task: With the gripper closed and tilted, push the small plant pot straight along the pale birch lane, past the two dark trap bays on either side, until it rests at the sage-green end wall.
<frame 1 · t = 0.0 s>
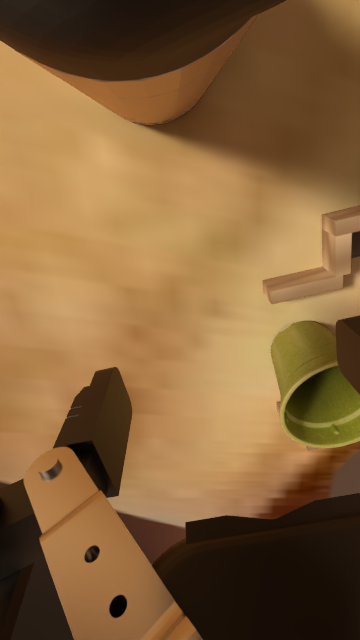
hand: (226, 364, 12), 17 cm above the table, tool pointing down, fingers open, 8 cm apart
plant pot: (299, 345, 32), on the table
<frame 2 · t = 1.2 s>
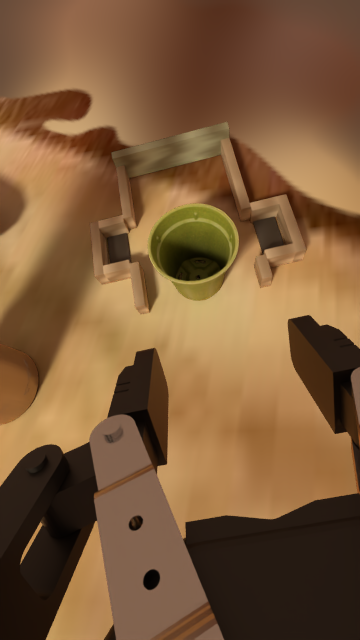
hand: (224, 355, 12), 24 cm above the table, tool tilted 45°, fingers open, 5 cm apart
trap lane: (188, 227, 43), on the table
plant pot: (199, 279, 40), on the table
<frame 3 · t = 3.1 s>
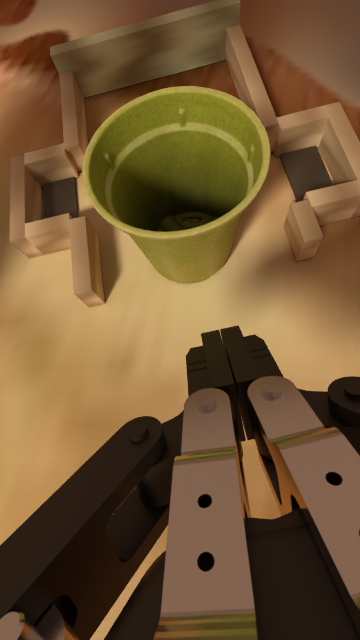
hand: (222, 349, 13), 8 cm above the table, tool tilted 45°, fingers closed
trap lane: (172, 166, 26), on the table
plant pot: (191, 249, 24), on the table
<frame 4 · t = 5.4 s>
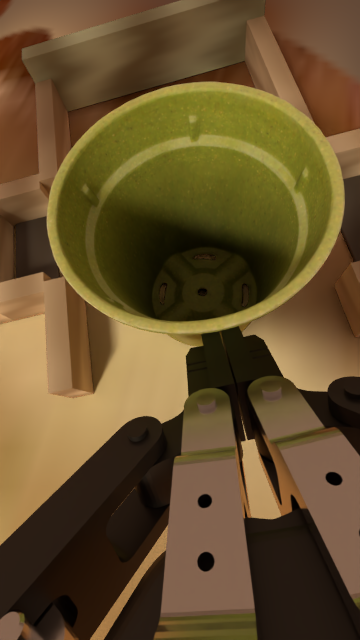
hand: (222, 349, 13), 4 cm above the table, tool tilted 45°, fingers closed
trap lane: (181, 200, 20), on the table
plant pot: (205, 297, 18), on the table, touching gripper
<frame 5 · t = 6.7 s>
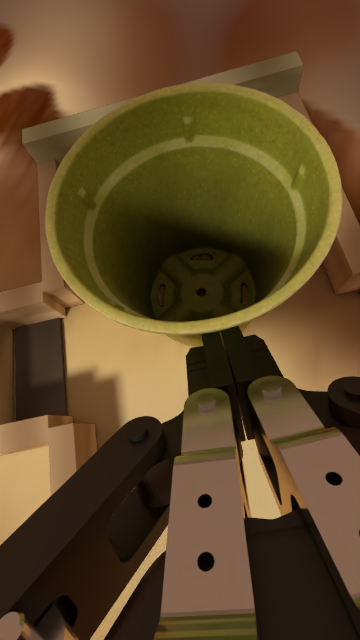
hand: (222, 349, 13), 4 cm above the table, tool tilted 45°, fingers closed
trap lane: (204, 307, 18), on the table
plant pot: (204, 297, 18), on the table, touching gripper
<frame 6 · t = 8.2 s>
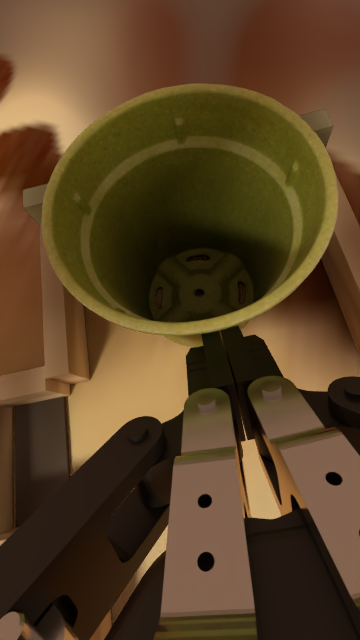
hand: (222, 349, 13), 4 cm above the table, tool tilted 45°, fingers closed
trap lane: (223, 390, 16), on the table
plant pot: (202, 297, 18), on the table, touching gripper
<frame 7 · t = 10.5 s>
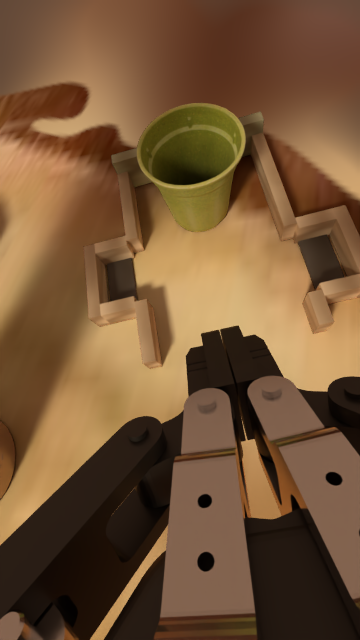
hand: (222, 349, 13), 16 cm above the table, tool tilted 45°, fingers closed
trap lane: (210, 250, 33), on the table
plant pot: (201, 210, 35), on the table
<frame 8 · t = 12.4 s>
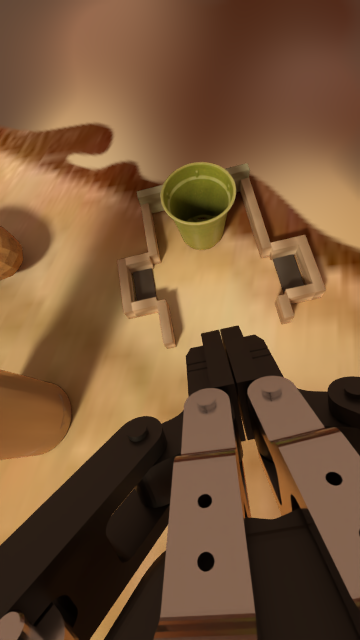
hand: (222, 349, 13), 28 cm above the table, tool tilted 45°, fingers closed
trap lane: (210, 263, 45), on the table
potato: (1, 265, 51), on the table
plant pot: (203, 233, 47), on the table
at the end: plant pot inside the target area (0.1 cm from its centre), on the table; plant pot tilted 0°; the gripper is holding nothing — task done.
